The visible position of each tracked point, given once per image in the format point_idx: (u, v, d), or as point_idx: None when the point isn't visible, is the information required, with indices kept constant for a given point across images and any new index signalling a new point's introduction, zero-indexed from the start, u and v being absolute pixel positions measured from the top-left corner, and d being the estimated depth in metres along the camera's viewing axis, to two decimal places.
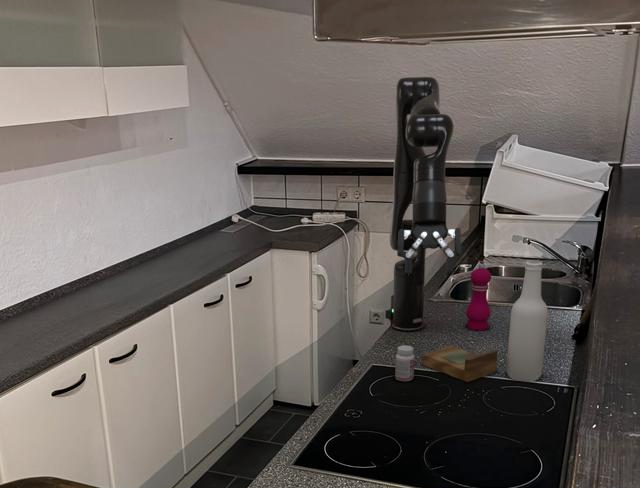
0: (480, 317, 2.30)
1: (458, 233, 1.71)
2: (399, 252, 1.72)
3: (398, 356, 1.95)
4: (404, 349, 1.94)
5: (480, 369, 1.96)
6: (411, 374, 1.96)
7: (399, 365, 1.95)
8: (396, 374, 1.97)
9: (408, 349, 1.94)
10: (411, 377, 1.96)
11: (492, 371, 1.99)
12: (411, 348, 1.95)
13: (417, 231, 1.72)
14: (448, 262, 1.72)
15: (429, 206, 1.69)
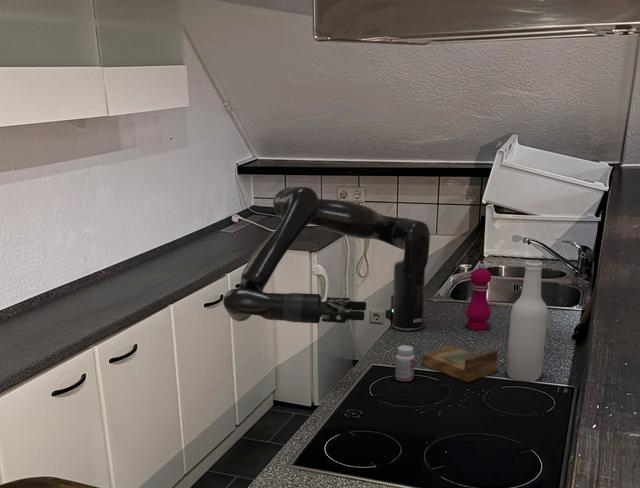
0: (480, 317, 2.30)
1: None
2: None
3: (398, 356, 1.95)
4: (404, 349, 1.94)
5: (480, 369, 1.96)
6: (411, 374, 1.96)
7: (399, 365, 1.95)
8: (396, 374, 1.97)
9: (408, 349, 1.94)
10: (411, 377, 1.96)
11: (492, 371, 1.99)
12: (411, 348, 1.95)
13: None
14: None
15: None
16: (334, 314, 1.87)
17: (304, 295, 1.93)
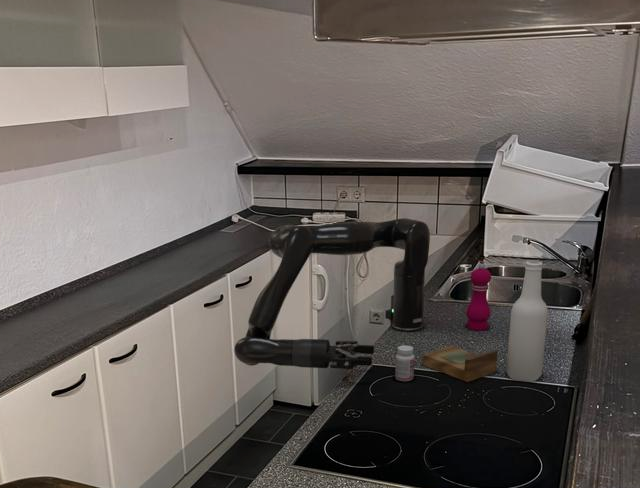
0: (480, 317, 2.30)
1: None
2: None
3: (398, 356, 1.95)
4: (404, 349, 1.94)
5: (480, 369, 1.96)
6: (411, 374, 1.96)
7: (399, 365, 1.95)
8: (396, 374, 1.97)
9: (408, 349, 1.94)
10: (411, 377, 1.96)
11: (492, 371, 1.99)
12: (411, 348, 1.95)
13: None
14: None
15: None
16: (342, 361, 1.92)
17: (313, 341, 1.98)
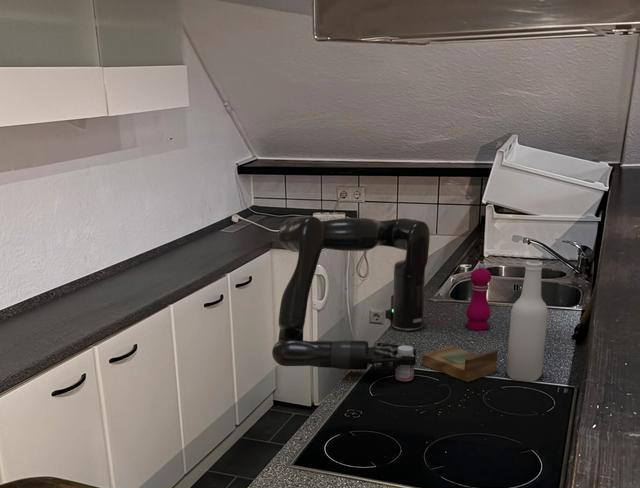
0: (480, 317, 2.30)
1: None
2: None
3: None
4: (404, 349, 1.94)
5: (480, 369, 1.96)
6: (411, 374, 1.96)
7: None
8: (396, 374, 1.97)
9: (408, 349, 1.94)
10: (411, 377, 1.96)
11: (492, 371, 1.99)
12: (411, 348, 1.95)
13: None
14: None
15: None
16: (387, 361, 1.91)
17: (352, 343, 1.96)
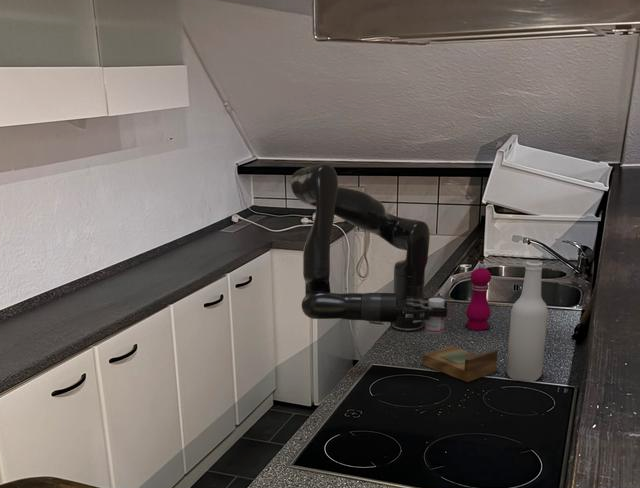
0: (480, 317, 2.30)
1: None
2: None
3: None
4: (435, 301, 1.93)
5: (480, 369, 1.96)
6: (442, 326, 1.94)
7: None
8: (427, 326, 1.95)
9: (439, 301, 1.93)
10: (442, 330, 1.95)
11: (492, 371, 1.99)
12: (442, 300, 1.93)
13: None
14: None
15: None
16: (419, 312, 1.89)
17: (382, 295, 1.95)
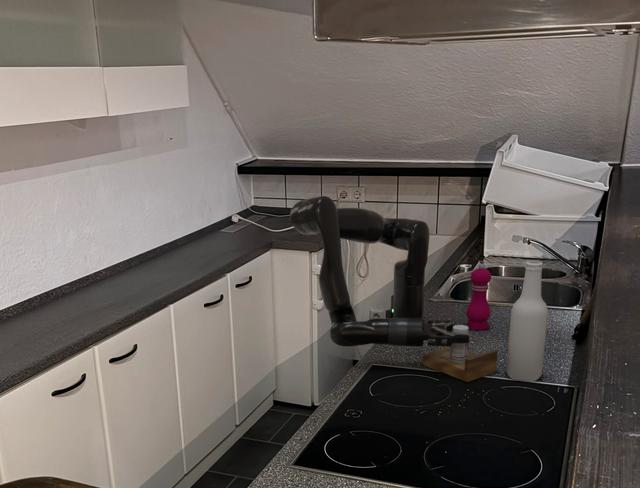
0: (480, 317, 2.30)
1: None
2: None
3: None
4: (460, 328, 1.98)
5: (480, 369, 1.96)
6: (466, 353, 2.00)
7: (454, 344, 1.99)
8: (451, 352, 2.01)
9: (463, 328, 1.98)
10: (466, 356, 2.00)
11: (492, 371, 1.99)
12: (466, 327, 1.99)
13: None
14: None
15: None
16: (440, 338, 1.94)
17: (408, 320, 2.00)
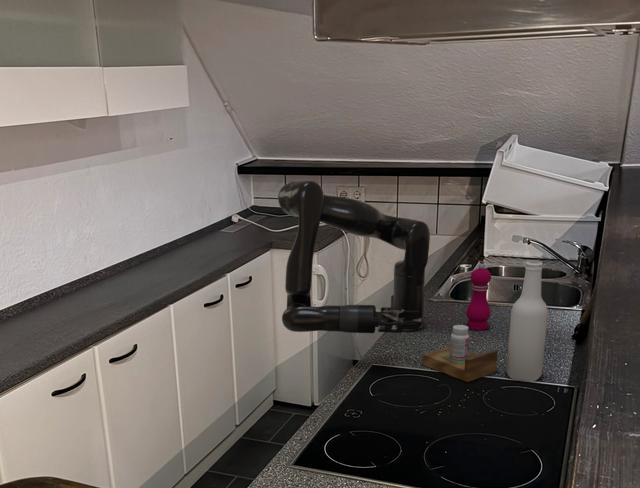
0: (480, 317, 2.30)
1: None
2: None
3: (453, 335, 1.99)
4: (460, 328, 1.98)
5: (480, 369, 1.96)
6: (466, 353, 2.00)
7: (454, 344, 1.99)
8: (451, 352, 2.01)
9: (463, 328, 1.98)
10: (466, 356, 2.00)
11: (492, 371, 1.99)
12: (466, 327, 1.99)
13: None
14: None
15: None
16: (390, 325, 1.95)
17: (360, 307, 2.01)
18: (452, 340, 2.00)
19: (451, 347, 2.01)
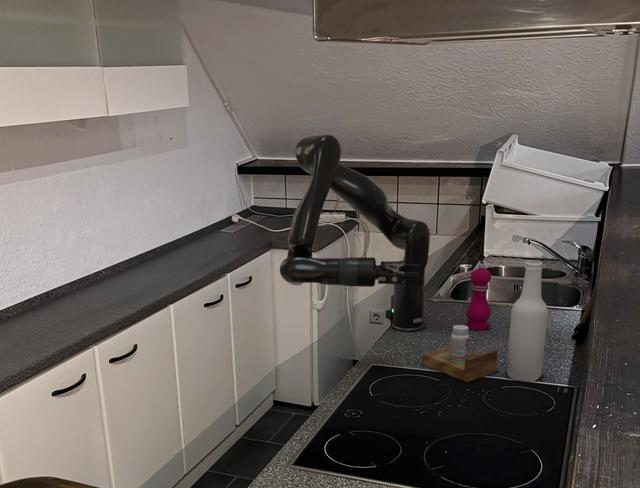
0: (480, 317, 2.30)
1: None
2: None
3: (453, 335, 1.99)
4: (460, 328, 1.98)
5: (480, 369, 1.96)
6: (466, 353, 2.00)
7: (454, 344, 1.99)
8: (451, 352, 2.01)
9: (463, 328, 1.98)
10: (466, 356, 2.00)
11: (492, 371, 1.99)
12: (466, 327, 1.99)
13: None
14: None
15: None
16: (390, 276, 1.90)
17: (359, 259, 1.96)
18: (452, 340, 2.00)
19: (451, 347, 2.01)
